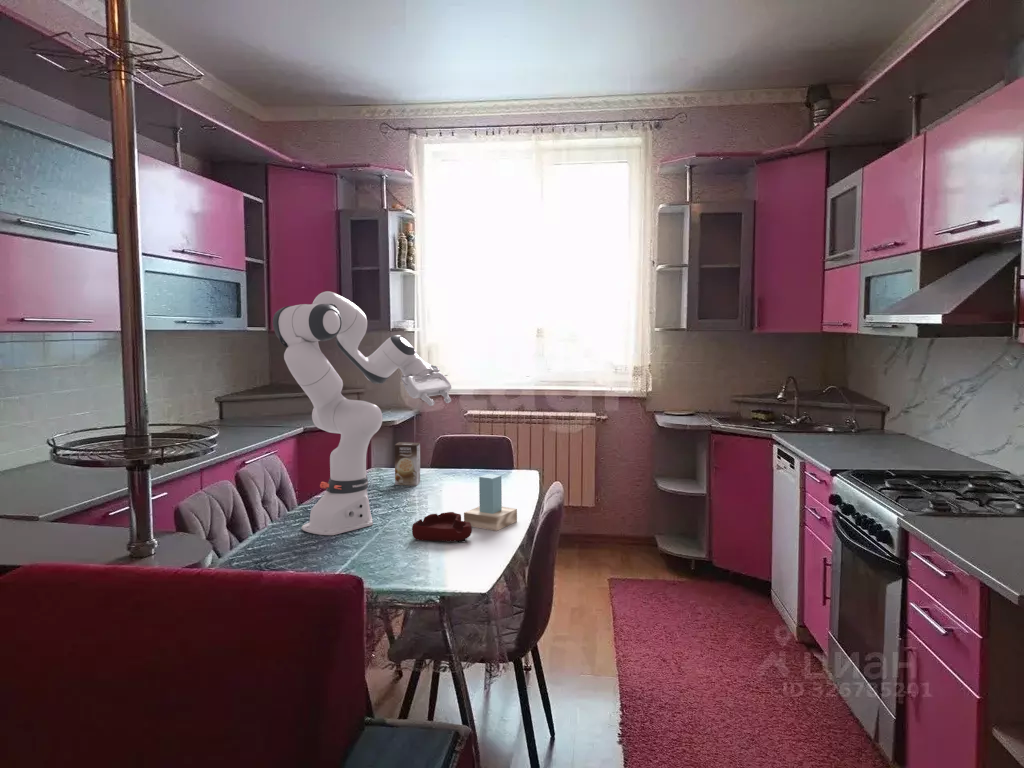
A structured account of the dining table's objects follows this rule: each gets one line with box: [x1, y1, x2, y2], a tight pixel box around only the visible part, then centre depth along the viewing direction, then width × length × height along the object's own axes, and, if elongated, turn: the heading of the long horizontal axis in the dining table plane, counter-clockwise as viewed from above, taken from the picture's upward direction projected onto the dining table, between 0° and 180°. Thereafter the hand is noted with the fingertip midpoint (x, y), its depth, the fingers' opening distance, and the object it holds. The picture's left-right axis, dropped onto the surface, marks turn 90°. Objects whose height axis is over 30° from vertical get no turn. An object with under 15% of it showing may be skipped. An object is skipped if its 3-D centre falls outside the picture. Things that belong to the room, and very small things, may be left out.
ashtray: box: [411, 511, 473, 543], centre depth 203 cm, size 18×16×5 cm
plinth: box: [463, 505, 518, 532], centre depth 216 cm, size 12×12×4 cm
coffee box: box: [394, 441, 421, 487], centre depth 271 cm, size 9×6×16 cm
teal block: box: [478, 473, 503, 514], centre depth 216 cm, size 5×5×11 cm
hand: (441, 403), depth 237 cm, fingers open, 8 cm apart
